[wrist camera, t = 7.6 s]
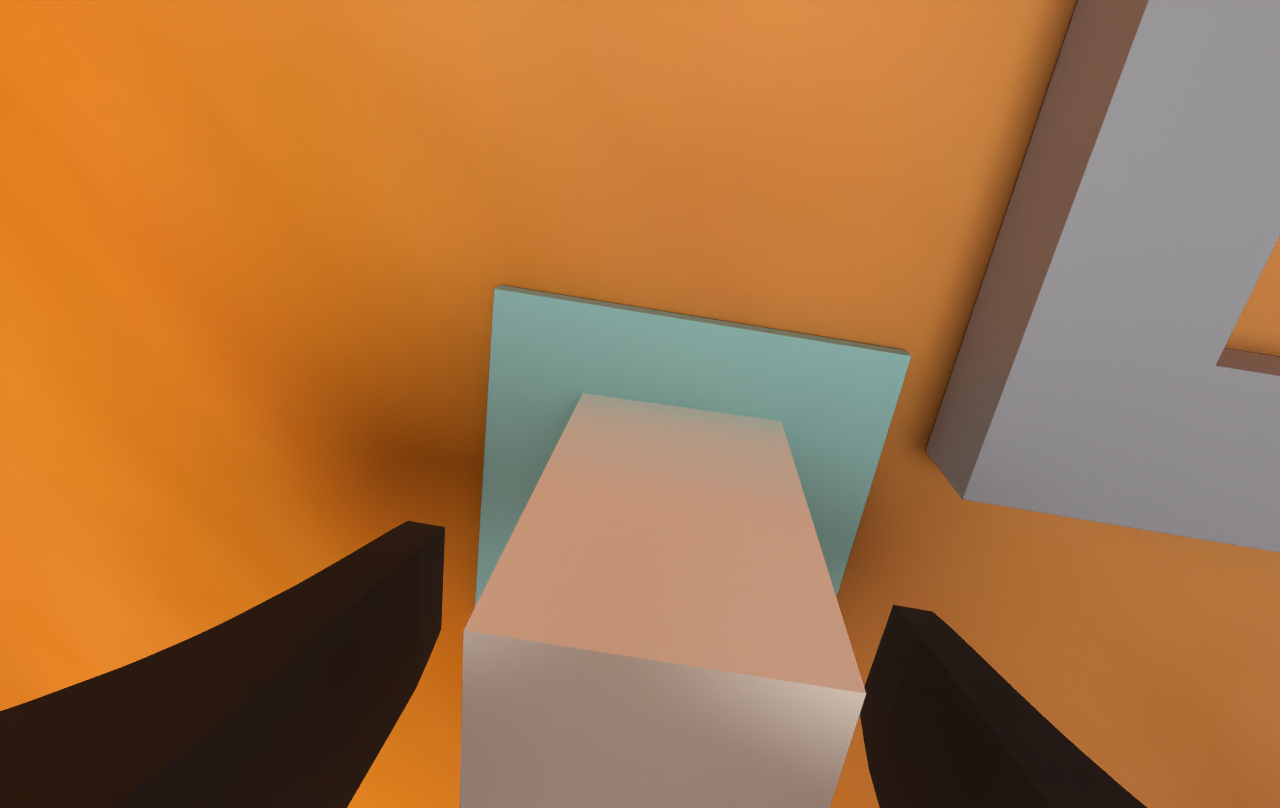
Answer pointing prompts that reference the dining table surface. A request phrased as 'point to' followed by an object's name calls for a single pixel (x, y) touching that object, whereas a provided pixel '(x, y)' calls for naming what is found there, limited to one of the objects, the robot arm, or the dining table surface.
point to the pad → (681, 399)
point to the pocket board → (1133, 285)
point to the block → (659, 626)
